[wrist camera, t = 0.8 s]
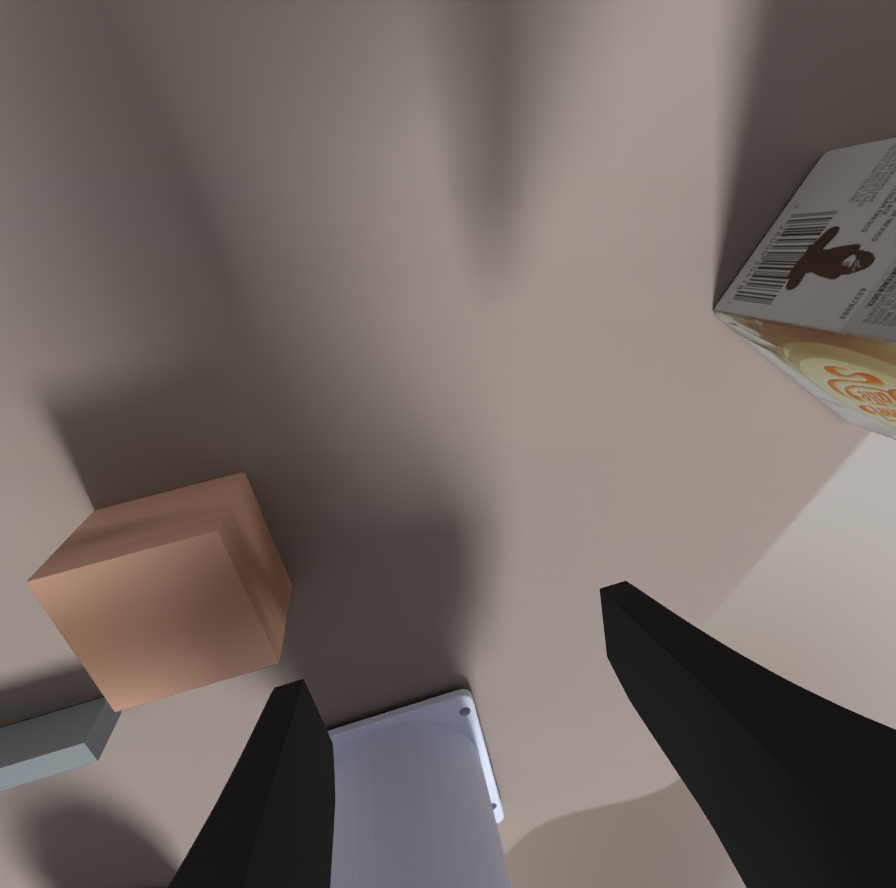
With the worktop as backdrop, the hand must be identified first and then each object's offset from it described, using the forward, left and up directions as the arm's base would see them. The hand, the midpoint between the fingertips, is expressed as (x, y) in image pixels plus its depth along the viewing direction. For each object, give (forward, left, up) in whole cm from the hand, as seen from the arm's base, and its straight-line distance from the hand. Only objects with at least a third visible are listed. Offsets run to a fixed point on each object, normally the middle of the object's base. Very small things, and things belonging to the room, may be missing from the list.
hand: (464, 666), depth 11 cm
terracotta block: (0, +8, -9) cm, 12 cm away
